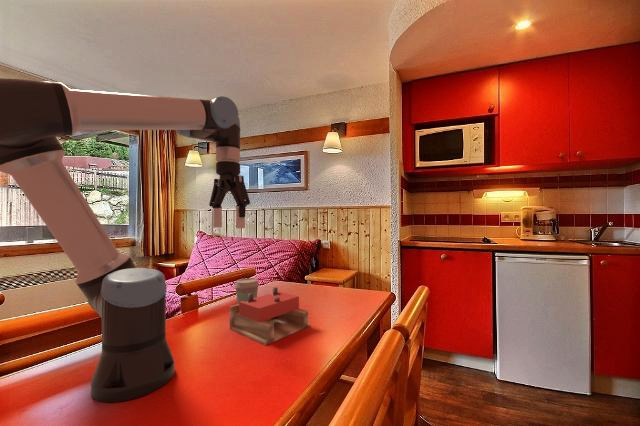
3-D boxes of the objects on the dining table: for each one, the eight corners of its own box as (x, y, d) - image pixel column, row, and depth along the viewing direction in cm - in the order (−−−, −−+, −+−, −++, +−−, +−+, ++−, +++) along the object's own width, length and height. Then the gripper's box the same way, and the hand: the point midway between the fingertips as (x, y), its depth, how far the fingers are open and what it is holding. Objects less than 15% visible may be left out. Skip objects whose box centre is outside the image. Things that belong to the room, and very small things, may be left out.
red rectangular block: (259, 322, 82) (259, 305, 82) (239, 314, 89) (239, 298, 89) (299, 308, 94) (298, 293, 94) (278, 302, 101) (278, 288, 101)
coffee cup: (261, 309, 109) (261, 278, 109) (254, 317, 100) (254, 283, 101) (240, 309, 110) (239, 277, 110) (231, 317, 101) (230, 282, 101)
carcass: (265, 345, 79) (265, 304, 79) (229, 328, 91) (229, 293, 91) (310, 325, 93) (310, 291, 93) (274, 313, 104) (273, 283, 104)
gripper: (261, 158, 88) (261, 228, 88) (218, 168, 104) (219, 226, 104) (240, 155, 82) (240, 229, 82) (198, 165, 99) (198, 227, 99)
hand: (228, 227), depth 93 cm, fingers open, 13 cm apart
